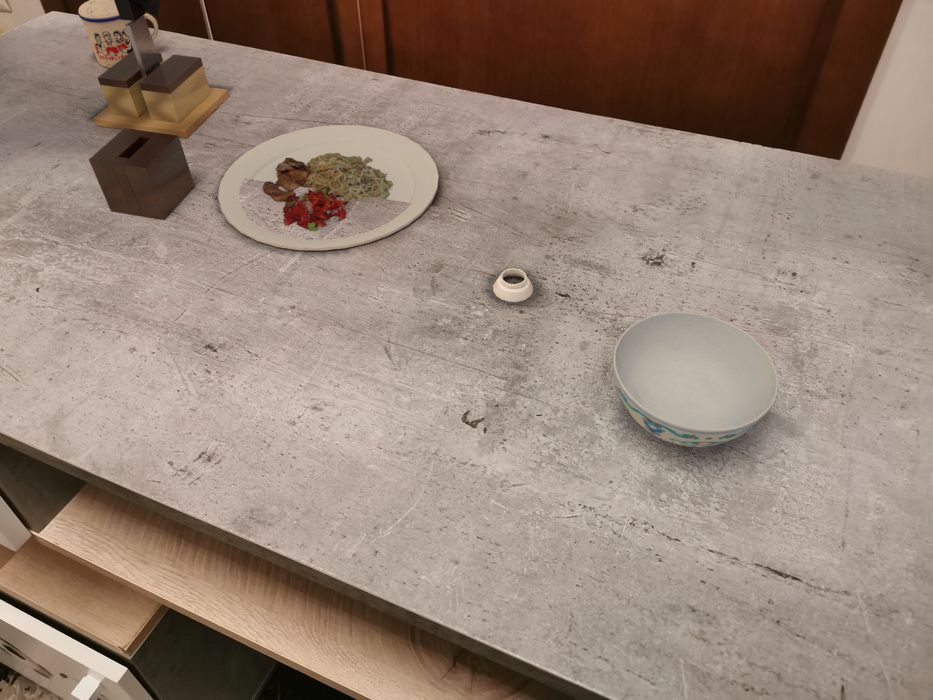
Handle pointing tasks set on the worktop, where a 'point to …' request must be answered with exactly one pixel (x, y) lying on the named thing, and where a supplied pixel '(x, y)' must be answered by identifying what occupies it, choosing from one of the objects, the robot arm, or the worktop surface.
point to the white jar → (513, 286)
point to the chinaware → (693, 378)
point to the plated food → (331, 181)
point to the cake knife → (139, 35)
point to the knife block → (143, 173)
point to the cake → (158, 96)
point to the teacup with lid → (108, 31)
